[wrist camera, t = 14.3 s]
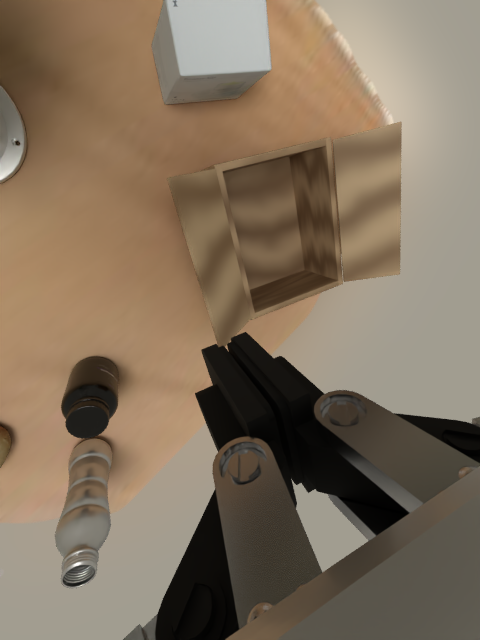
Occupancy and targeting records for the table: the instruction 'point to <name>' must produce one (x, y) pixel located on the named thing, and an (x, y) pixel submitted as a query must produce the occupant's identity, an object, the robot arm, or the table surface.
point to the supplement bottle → (90, 397)
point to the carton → (283, 223)
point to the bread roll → (4, 444)
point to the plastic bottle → (84, 512)
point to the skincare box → (210, 48)
